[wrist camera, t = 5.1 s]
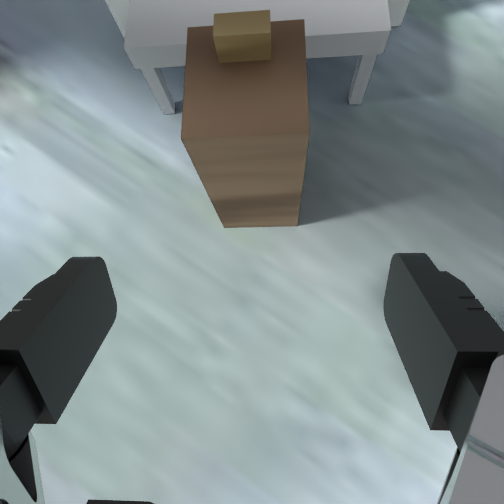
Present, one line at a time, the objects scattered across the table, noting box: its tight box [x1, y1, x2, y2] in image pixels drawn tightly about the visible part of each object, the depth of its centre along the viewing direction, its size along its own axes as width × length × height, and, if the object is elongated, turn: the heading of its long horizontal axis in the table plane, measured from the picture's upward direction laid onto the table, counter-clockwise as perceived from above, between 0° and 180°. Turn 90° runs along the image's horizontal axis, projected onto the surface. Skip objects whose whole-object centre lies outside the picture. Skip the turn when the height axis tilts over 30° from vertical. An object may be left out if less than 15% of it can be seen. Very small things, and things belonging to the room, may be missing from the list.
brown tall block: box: [181, 10, 310, 228], centre depth 18 cm, size 5×5×11 cm
